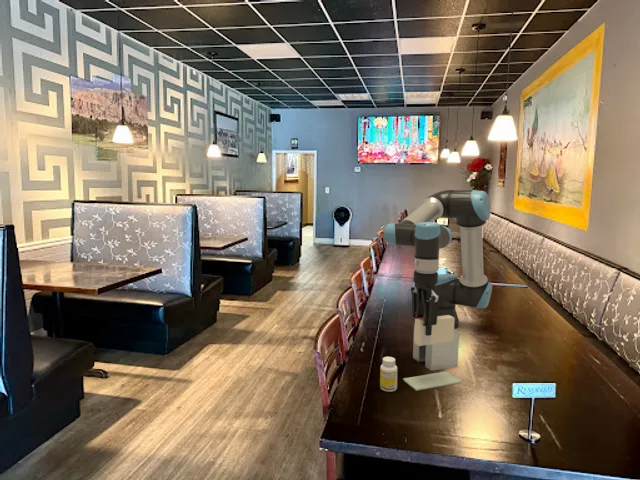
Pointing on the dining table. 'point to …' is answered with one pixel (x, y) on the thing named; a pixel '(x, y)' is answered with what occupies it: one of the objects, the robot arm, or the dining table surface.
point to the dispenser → (438, 353)
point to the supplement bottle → (388, 374)
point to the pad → (431, 380)
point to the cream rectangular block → (436, 330)
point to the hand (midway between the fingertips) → (423, 342)
